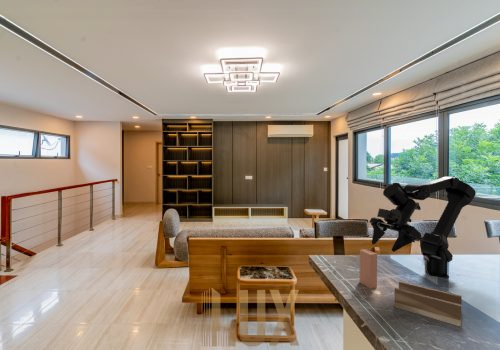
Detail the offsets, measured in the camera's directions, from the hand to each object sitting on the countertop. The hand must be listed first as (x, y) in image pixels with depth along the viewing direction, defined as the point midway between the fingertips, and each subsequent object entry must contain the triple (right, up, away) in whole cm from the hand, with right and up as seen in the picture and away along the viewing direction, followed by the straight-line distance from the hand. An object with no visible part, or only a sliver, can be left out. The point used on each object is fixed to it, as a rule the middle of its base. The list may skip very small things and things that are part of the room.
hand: (382, 247), depth 97 cm
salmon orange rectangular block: (-6, -13, -1) cm, 14 cm away
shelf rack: (+5, -14, -17) cm, 23 cm away
